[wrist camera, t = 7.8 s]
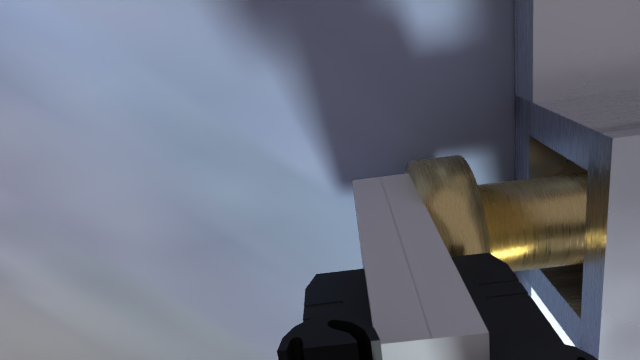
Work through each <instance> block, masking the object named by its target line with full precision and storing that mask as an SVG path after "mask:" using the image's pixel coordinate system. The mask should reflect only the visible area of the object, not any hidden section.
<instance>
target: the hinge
mask: <svg viewBox="0 0 640 360" xmlns="http://www.w3.org/2000/svg"><path fill="white" fill-rule="evenodd" d="M515 166H516V180H522V179H530V178H538V177H546V176H555V175H563V174H571V173H579V172H587V171H588V180H587V201H586V222H585V243H584V264H577V265H568V266H559V267H550V268H541V269H532V270H523V271H516V276H517V278H518V279H519V283H522V285H523V286H524V288H525V289H526V290H527V292H528V296H531V298H532V299H533V300H534V302H535V303H536V305H537V306H538V307H539V309H540V310H541V312H542V313H543V314H544V316H545V317H546V319H547V320H548V321H549V323H550V324H551V326H552V327H553V328H554V330H555V331H556V333H557V334H558V335H559V337H560V338H561V340H562V341H563V342H564V344H566V345H570V346H574V347H577V348H579V349H581V350H583V351H585V352H587V353H589V354H591V355H593V356H594V357H595V358H597V359H598V360H640V0H515Z"/></svg>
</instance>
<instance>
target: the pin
mask: <svg viewBox="0 0 640 360" xmlns="http://www.w3.org/2000/svg"><path fill="white" fill-rule="evenodd" d="M406 173H409V175H410V177H411V179H412V181H413V183H414V185H415V187H416V189H417V191H418V193H419V195H420V197H421V199H422V201H423V203H424V205H425V206H426V208H427V210H428V212H429V214H430V216H431V218H432V220H433V222H434V224H435V226H436V228H437V230H438V232H439V234H440V236H441V238H442V240H443V242H444V244H445V246H446V248H447V250H448V252H449V254H450V256H451V257H455V256H463V255H472V254H481V253H490V254H491V255H493V256H495V257H496V258H498V259H500V260H502V261H503V262H505V263H507V264H508V265H509V267H510V268H511V269H512V271H513V272H514V271H523V270H532V269H541V268H550V267H559V266H568V265H577V264H584V243H585V222H586V201H587V180H588V171H587V172H579V173H571V174H563V175H555V176H546V177H538V178H530V179H522V180H514V181H506V182H498V183H490V184H482V185H477V183H476V180H475V178H474V175H473V173H472V171H471V168H470V166H469V165H468V163H467V161H466V160H465V159H464V158H463V157H462V156H460V155H455V156H447V157H439V158H431V159H423V160H416V161H409V162H408V163H407V166H406Z"/></svg>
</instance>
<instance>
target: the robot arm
mask: <svg viewBox="0 0 640 360" xmlns="http://www.w3.org/2000/svg"><path fill="white" fill-rule="evenodd" d="M352 183H353V191H354V200H355V208H356V216H357V224H358V232H359V240H360V248H361V256H362V264H363V269H357V270H349V271H340V272H331V273H323V274H316V276H315V277H314V278H313V280H312V281H311V282H310V284H309V285H308V286H307V288H306V289H305V302H304V308H305V309H304V315H303V323H301V324H299V325H297V326H295V327H294V328H293V329H292V330H291V331H289V332H288V333H287V334H286V335H285V336H284V337H283V338H282V341H281V343H280V346H279V348H278V350H277V353H278V358H279V360H598V359H597V358H595V357H594V356H593V355H591V354H589V353H587V352H585V351H583V350H581V349H579V348H577V347H574V346H570V345H566V344H564V342H563V341H562V340H561V338H560V337H559V335H558V334H557V333H556V331H555V330H554V328H553V327H552V326H551V324H550V323H549V321H548V320H547V319H546V317H545V316H544V314H543V313H542V312H541V310H540V309H539V307H538V306H537V305H536V303H535V302H534V300H533V299H532V298H531V296H528V292H527V290H526V289H525V288H524V286H523V285H522V283H519V279H518V278H517V276H516V275H515V274H514V272H513V271H512V269H511V268H510V267H509V265H508V264H507V263H505V262H503V261H502V260H500V259H498V258H496V257H495V256H493V255H491V254H490V253H481V254H472V255H463V256H455V257H451V256H450V254H449V252H448V250H447V248H446V246H445V244H444V242H443V240H442V238H441V236H440V234H439V232H438V230H437V228H436V226H435V224H434V222H433V220H432V218H431V216H430V214H429V212H428V210H427V208H426V206H425V205H424V203H423V201H422V199H421V197H420V195H419V193H418V191H417V189H416V187H415V185H414V183H413V181H412V179H411V177H410V175H409V173H406V174H398V175H390V176H382V177H374V178H366V179H358V180H352Z"/></svg>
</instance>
